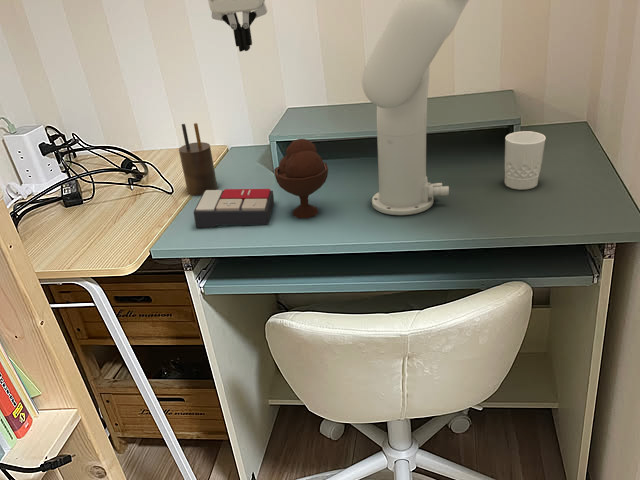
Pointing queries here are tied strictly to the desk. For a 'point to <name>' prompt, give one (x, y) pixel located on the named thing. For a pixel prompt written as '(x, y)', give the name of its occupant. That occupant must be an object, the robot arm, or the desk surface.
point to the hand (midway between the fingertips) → (244, 49)
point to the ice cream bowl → (302, 174)
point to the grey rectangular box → (234, 207)
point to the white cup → (523, 159)
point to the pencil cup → (197, 165)
